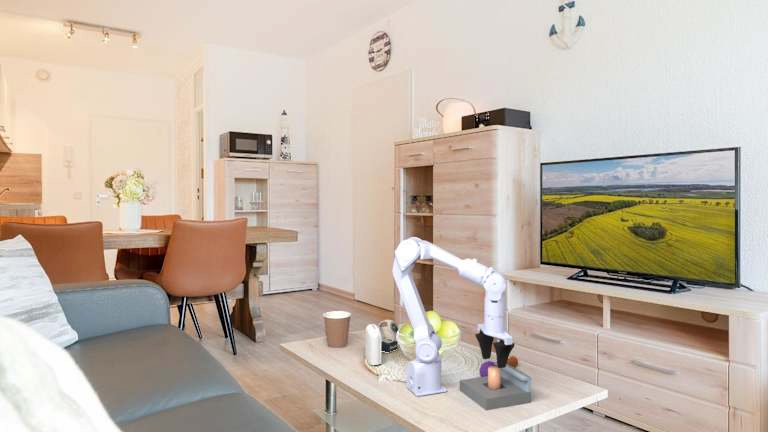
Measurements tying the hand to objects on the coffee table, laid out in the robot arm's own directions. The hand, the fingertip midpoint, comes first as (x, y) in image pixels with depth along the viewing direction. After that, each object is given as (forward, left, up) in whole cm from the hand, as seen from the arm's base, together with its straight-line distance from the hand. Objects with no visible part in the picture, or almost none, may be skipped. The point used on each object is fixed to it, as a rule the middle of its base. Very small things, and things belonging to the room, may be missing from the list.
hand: (493, 363), depth 140 cm
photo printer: (-22, +39, -10) cm, 46 cm away
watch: (-13, +48, -10) cm, 50 cm away
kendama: (+12, +14, -10) cm, 21 cm away
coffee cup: (-29, +59, -10) cm, 66 cm away
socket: (0, 0, -9) cm, 9 cm away
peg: (0, 0, -9) cm, 9 cm away
